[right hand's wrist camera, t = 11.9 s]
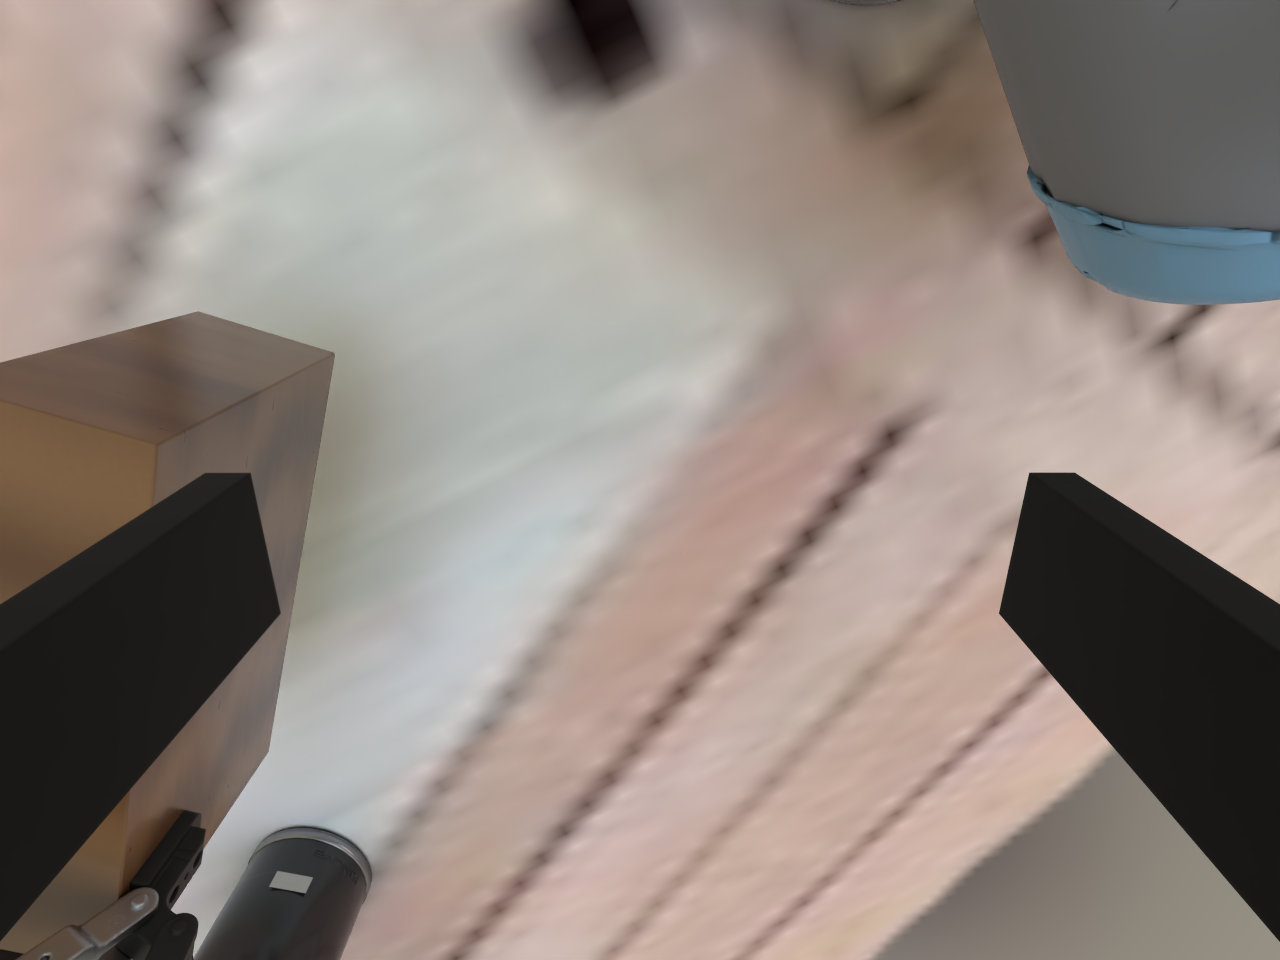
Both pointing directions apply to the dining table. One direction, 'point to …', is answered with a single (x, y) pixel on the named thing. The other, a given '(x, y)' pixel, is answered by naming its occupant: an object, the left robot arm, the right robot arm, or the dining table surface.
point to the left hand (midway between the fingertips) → (111, 808)
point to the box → (125, 488)
